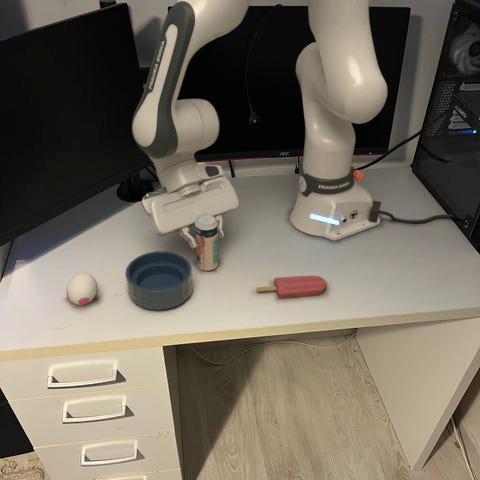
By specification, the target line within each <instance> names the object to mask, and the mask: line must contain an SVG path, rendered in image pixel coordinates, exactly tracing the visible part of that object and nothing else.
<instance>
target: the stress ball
mask: <svg viewBox="0 0 480 480" xmlns="http://www.w3.org/2000/svg"><path fill="white" fill-rule="evenodd" d="M65 290H66V291H65V292H66V296H67V300H69V301H70V302H71V303H72V304H74V305H77V306H83V305H87V304H89V302H92V300H93V299H95V300H96V301H95V302H98V299H99V297H95V296H96V295H97V293H98V292H97V291H98V283H97V280H96V278H95V277H94V275H92V274H91V273H88V272H79V273H76V274H74V275H73V276H72V277H71V278H70V279H69V281H68V283H67V285H66V289H65Z"/></svg>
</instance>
